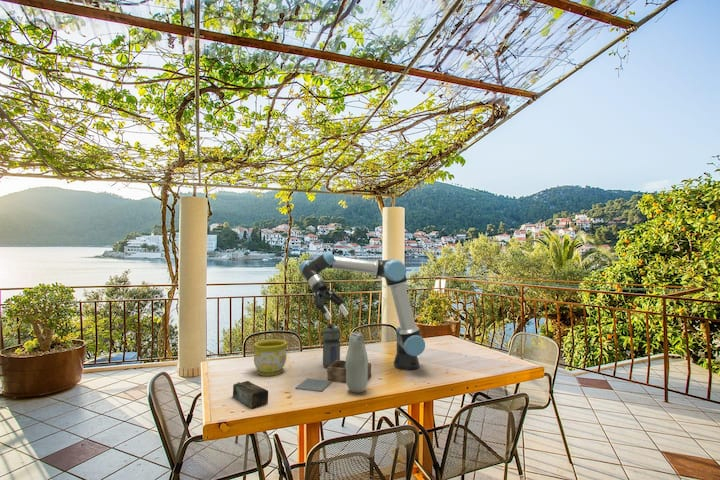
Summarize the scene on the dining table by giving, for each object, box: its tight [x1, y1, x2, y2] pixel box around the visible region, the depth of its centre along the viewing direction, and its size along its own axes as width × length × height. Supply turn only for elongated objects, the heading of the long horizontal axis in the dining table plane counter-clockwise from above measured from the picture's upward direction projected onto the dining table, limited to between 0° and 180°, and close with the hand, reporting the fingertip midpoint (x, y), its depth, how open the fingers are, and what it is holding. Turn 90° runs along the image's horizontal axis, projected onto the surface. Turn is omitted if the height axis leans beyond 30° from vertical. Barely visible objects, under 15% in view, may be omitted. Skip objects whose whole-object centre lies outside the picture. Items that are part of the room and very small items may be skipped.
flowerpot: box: [253, 338, 288, 377], centre depth 197 cm, size 18×18×16 cm
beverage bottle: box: [322, 323, 341, 369], centre depth 208 cm, size 10×13×25 cm
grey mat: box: [295, 378, 333, 393], centre depth 176 cm, size 14×14×1 cm
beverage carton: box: [232, 380, 269, 409], centre depth 157 cm, size 8×19×7 cm, turn 45°
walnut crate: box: [326, 359, 372, 384], centre depth 187 cm, size 20×14×7 cm
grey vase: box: [345, 331, 369, 394], centre depth 168 cm, size 10×10×28 cm
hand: (338, 316), depth 177 cm, fingers open, 13 cm apart
